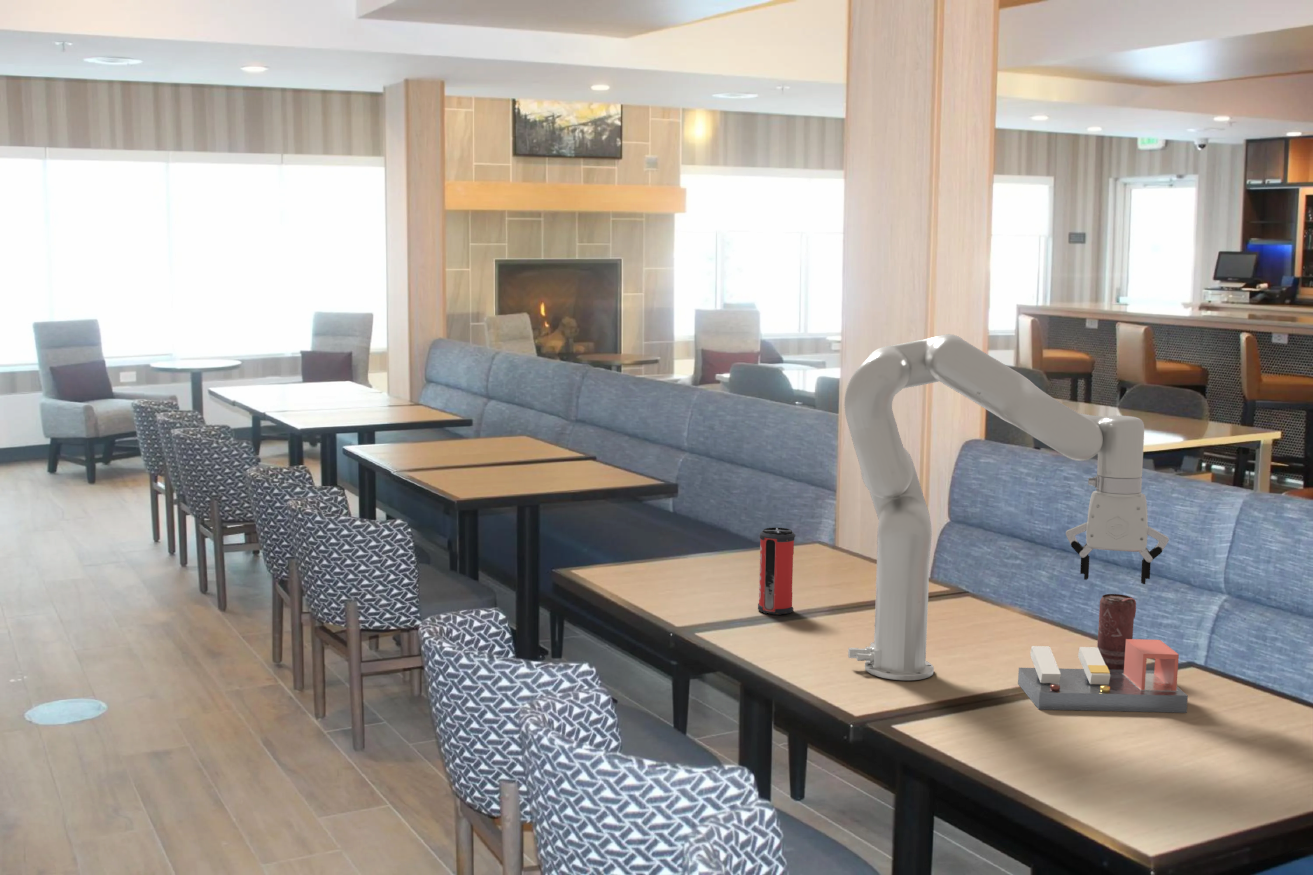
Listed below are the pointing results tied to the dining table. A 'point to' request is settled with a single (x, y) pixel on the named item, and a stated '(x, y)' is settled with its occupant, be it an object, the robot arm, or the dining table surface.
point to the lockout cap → (1151, 649)
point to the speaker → (776, 571)
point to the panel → (1101, 693)
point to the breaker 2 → (1094, 665)
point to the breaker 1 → (1045, 664)
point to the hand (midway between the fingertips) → (1114, 580)
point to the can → (1115, 628)
